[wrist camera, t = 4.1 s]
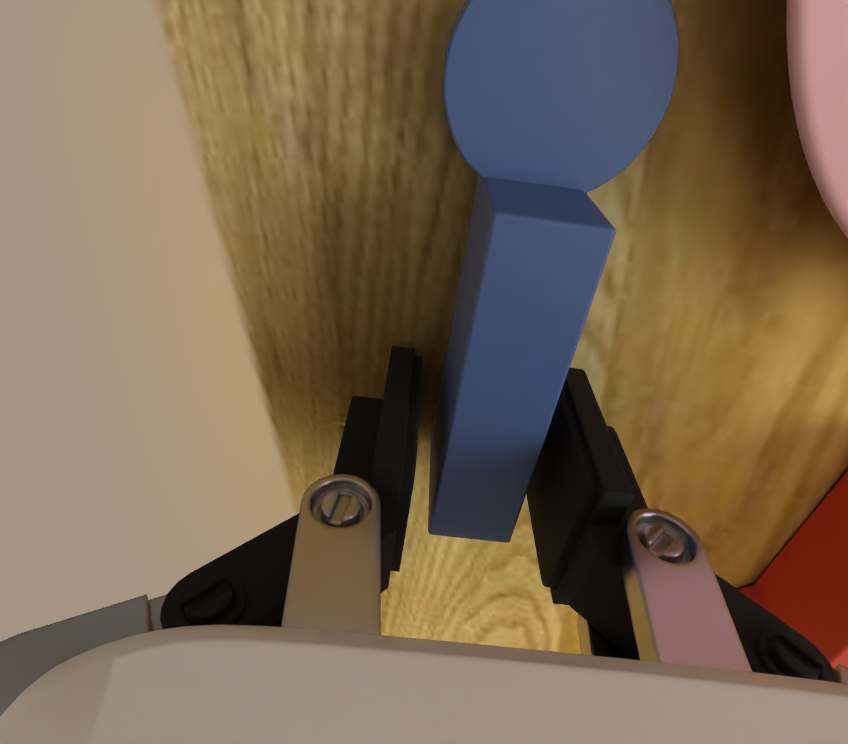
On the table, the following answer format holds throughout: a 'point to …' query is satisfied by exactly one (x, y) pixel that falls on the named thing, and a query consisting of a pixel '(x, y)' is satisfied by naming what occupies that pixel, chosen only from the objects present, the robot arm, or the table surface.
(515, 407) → the blue spoon
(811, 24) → the plate
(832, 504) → the red spoon
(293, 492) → the table surface
